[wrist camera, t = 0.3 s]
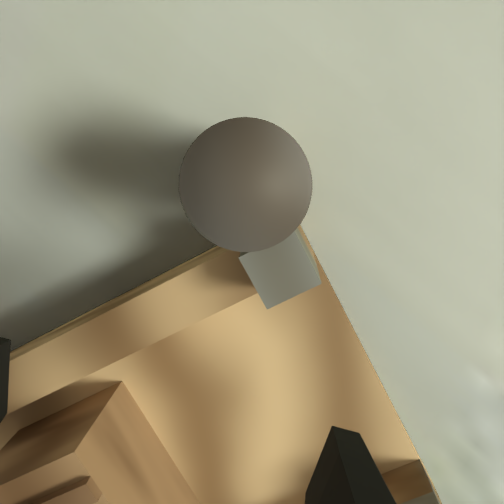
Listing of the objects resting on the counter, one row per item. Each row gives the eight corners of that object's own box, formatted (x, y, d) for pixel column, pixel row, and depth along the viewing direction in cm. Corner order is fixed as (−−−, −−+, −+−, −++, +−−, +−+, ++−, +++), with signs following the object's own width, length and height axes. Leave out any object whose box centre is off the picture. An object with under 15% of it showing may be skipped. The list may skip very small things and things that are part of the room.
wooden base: (120, 601, 25) (60, 772, 18) (-86, 311, 22) (-253, 388, 15) (458, 473, 22) (538, 624, 15) (277, 109, 18) (273, 91, 12)
